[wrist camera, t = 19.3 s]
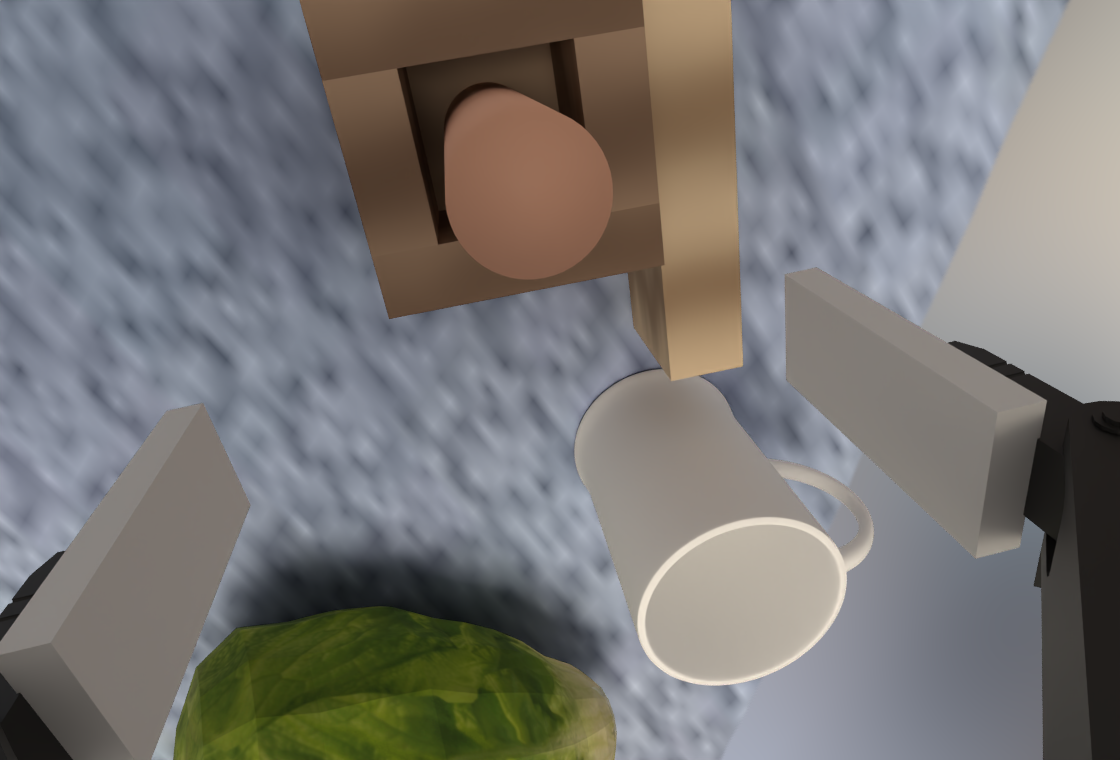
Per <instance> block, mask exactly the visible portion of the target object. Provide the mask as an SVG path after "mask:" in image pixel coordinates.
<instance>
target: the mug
mask: <svg viewBox="0 0 1120 760" xmlns="http://www.w3.org/2000/svg"><path fill="white" fill-rule="evenodd" d="M574 456H575V463H576V468H577V471H578V474H579V476H580V478H581V480H582V482H583V484H584V485H585V487H586V488H587V489H588V491H589V492H590V495H591V498H592V501H593V503H594V506H595V509H596V512H597V515H598V518H599V521H600V524H601V527H602V530H603V533H604V536H605V539H606V542H607V545H608V548H609V551H610V554H611V557H612V560H613V563H614V566H615V569H616V572H617V575H618V578H619V581H620V584H621V587H622V590H623V593H624V596H625V599H626V602H627V605H628V608H629V611H630V614H631V617H632V620H633V623H634V626H635V629H636V632H637V635H638V637H639V640H640V643H641V645H642V647H643V649H644V651H645V653H646V654H647V656H648V657H649V658H650V660H651V661H652V662H653V663H654V664H655V665H656V666H657V667H658V668H660V669H661V670H662V671H664V672H665V673H667V674H669V675H671V676H673V677H675V678H677V679H680V680H683V681H686V682H690V683H694V684H701V685H730V684H737V683H742V682H746V681H750V680H754V679H757V678H760V677H763V676H766V675H768V674H770V673H773V672H775V671H777V670H779V669H781V668H783V667H785V666H787V665H788V664H790V663H792V662H793V661H795V660H796V659H798V658H799V657H800V656H802V655H803V654H804V653H806V652H807V651H808V650H809V649H810V648H812V647H813V646H814V645H815V644H816V643H817V642H818V641H819V640H820V639H821V638H822V636H823V635H824V634H825V633H826V632H827V630H828V629H829V628H830V626H831V625H832V623H833V622H834V620H835V618H836V617H837V615H838V612H839V611H840V608H841V606H842V603H843V600H844V597H845V592H846V584H847V576H846V575H847V574H846V572H847V571H849V570H851V569H852V568H854V567H855V566H857V565H858V564H859V563H860V562H861V561H862V560H863V559H864V558H865V557H866V555H867V554H868V552H869V551H870V548H871V546H872V542H873V537H874V528H873V522H872V518H871V515H870V513H869V511H868V509H867V508H866V506H865V505H864V503H863V502H862V501H861V499H860V498H859V497H858V496H857V495H856V494H855V493H854V492H853V491H852V490H850V489H849V488H848V487H847V486H845V485H844V484H842V483H841V482H839V481H838V480H836V479H834V478H832V477H831V476H829V475H827V474H824V473H822V472H820V471H818V470H815V469H812V468H810V467H807V466H804V465H800V464H796V463H792V462H788V461H783V460H776V459H767V458H766V456H765V455H764V454H763V453H762V451H761V450H760V449H759V448H758V446H757V445H756V444H755V443H754V441H753V440H752V439H751V438H750V436H749V435H748V434H747V433H746V431H745V430H744V429H743V428H742V426H741V425H740V424H739V423H738V421H737V420H736V419H735V417H734V416H733V414H732V411H731V408H730V406H729V404H728V402H727V401H726V399H725V397H724V396H723V395H722V393H721V392H720V391H719V390H718V389H717V388H716V387H715V386H714V385H712V384H711V383H710V382H708V381H707V380H705V379H704V378H702V377H700V376H694V377H689V378H684V379H679V380H675V381H671V380H670V379H669V377H668V376H667V375H666V373H665V372H664V370H663V369H656V370H650V371H645V372H641V373H637V374H635V375H632V376H629V377H627V378H625V379H623V380H621V381H619V382H617V383H616V384H614V385H613V386H611V387H610V388H608V389H607V390H606V391H605V392H603V393H602V394H601V395H600V396H599V397H598V398H597V399H596V400H595V401H594V402H593V404H592V405H591V406H590V407H589V409H588V410H587V412H586V413H585V415H584V417H583V419H582V421H581V423H580V425H579V428H578V431H577V434H576V439H575V446H574ZM783 478H786V479H791V480H795V481H799V482H803V483H806V484H809V485H812V486H814V487H817V488H819V489H821V490H823V491H825V492H827V493H829V494H831V495H832V496H834V497H835V498H837V499H838V500H840V501H841V502H842V503H843V504H844V505H846V506H847V507H848V508H849V509H850V510H851V512H852V513H853V514H854V516H855V518H856V520H857V522H858V525H859V530H858V533H857V535H856V536H855V538H854V539H853V540H852V541H850V542H849V543H847V544H846V545H844V546H842V547H839V548H837V546H836V545H835V543H834V542H833V541H832V539H831V538H830V537H829V535H828V534H827V533H826V532H825V530H824V529H823V528H822V527H821V525H820V524H819V523H818V522H817V520H816V519H815V518H814V517H813V515H812V514H811V513H810V512H809V510H808V509H807V508H806V507H805V505H804V504H803V503H802V502H801V500H800V499H799V498H798V497H797V495H796V494H795V493H794V492H793V490H792V489H791V488H790V487H789V485H788V484H787V483H786V482H785V480H784V479H783Z"/></svg>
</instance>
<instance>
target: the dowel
mask: <svg viewBox="0 0 1120 760" xmlns="http://www.w3.org/2000/svg"><path fill="white" fill-rule="evenodd" d="M444 166H445V204H446V210H447V215H448V218H449V222H450V225H451V227H452V230H453V232H454V234H455V236H456V237H457V239H458V241H459V242H460V244H461V245H462V247H463V248H464V249H465V250H466V252H467V253H468V254H469V255H470V256H471V257H472V258H473V259H474V260H476V261H477V262H478V263H480V264H481V265H482V266H484V267H485V268H487V269H489V270H491V271H493V272H495V273H497V274H500V275H502V276H506V277H510V278H515V279H523V280H534V279H541V278H546V277H550V276H554V275H557V274H559V273H562V272H564V271H566V270H568V269H569V268H571V267H573V266H574V265H576V264H577V263H579V262H580V261H581V260H582V259H583V258H585V257H586V256H587V255H588V254H589V253H590V252H591V250H592V249H593V248H594V247H595V246H596V244H597V243H598V241H599V240H600V238H601V236H602V235H603V232H604V230H605V228H606V226H607V223H608V220H609V217H610V214H611V209H612V202H613V183H612V177H611V172H610V168H609V165H608V162H607V160H606V157H605V155H604V153H603V151H602V149H601V148H600V146H599V145H598V143H597V141H596V140H595V139H594V138H593V137H592V136H591V134H590V133H589V132H588V131H587V130H586V129H584V128H583V127H582V126H581V125H580V124H578V123H577V122H575V121H574V120H573V119H571V118H569V117H567V116H565V115H563V114H561V113H559V112H557V111H555V110H553V109H551V108H549V107H547V106H545V105H543V104H541V103H539V102H537V101H535V100H533V99H531V98H529V97H527V96H525V95H523V94H521V93H519V92H517V91H515V90H513V89H511V88H509V87H507V86H505V85H502V84H499V83H494V82H483V83H478V84H474V85H472V86H469V87H467V88H466V89H464V90H463V91H461V92H460V93H459V94H458V95H457V96H456V97H455V98H454V100H453V101H452V102H451V104H450V106H449V108H448V110H447V113H446V116H445V120H444Z"/></svg>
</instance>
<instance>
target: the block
mask: <svg viewBox="0 0 1120 760" xmlns="http://www.w3.org/2000/svg"><path fill="white" fill-rule="evenodd" d="M300 4H301V8H302V11H303V15H304V18H305V22H306V25H307V29H308V32H309V36H310V39H311V43H312V47H313V50H314V54H315V57H316V61H317V64H318V68H319V71H320V75H321V78H322V82H323V86H324V89H325V93H326V96H327V100H328V103H329V107H330V110H331V114H332V118H333V121H334V125H335V128H336V132H337V135H338V139H339V142H340V146H341V149H342V153H343V157H344V160H345V164H346V167H347V171H348V174H349V178H350V181H351V185H352V189H353V192H354V196H355V199H356V203H357V206H358V210H359V213H360V217H361V220H362V224H363V228H364V231H365V235H366V238H367V242H368V245H369V249H370V252H371V256H372V259H373V263H374V267H375V270H376V274H377V277H378V281H379V284H380V288H381V291H382V295H383V299H384V302H385V306H386V309H387V313H388V316H389V319H392V318H397V317H402V316H407V315H412V314H417V313H422V312H428V311H433V310H438V309H443V308H448V307H453V306H458V305H463V304H468V303H474V302H479V301H484V300H489V299H494V298H499V297H504V296H509V295H514V294H520V293H525V292H530V291H535V290H540V289H545V288H550V287H555V286H560V285H566V284H571V283H576V282H581V281H586V280H591V279H596V278H601V277H606V276H612V275H617V274H622V273H627V272H632V271H637V270H642V269H647V268H652V267H658V266H663V265H665V263H664V251H663V239H662V227H661V215H660V204H659V192H658V180H657V168H656V156H655V144H654V132H653V120H652V109H651V97H650V85H649V73H648V61H647V49H646V37H645V25H644V14H643V2H642V0H300ZM483 82H494V83H499V84H502V85H505V86H507V87H509V88H511V89H513V90H515V91H517V92H519V93H521V94H523V95H525V96H527V97H529V98H531V99H533V100H535V101H537V102H539V103H541V104H543V105H545V106H547V107H549V108H551V109H553V110H555V111H557V112H559V113H561V114H563V115H565V116H567V117H569V118H571V119H573V120H574V121H575V122H577V123H578V124H580V125H581V126H582V127H583V128H584V129H586V130H587V131H588V132H589V133H590V134H591V136H592V137H593V138H594V139H595V140H596V141H597V143H598V145H599V146H600V148H601V149H602V151H603V153H604V155H605V157H606V160H607V162H608V165H609V168H610V172H611V177H612V183H613V202H612V209H611V214H610V217H609V220H608V223H607V226H606V228H605V230H604V232H603V235H602V236H601V238H600V240H599V241H598V243H597V244H596V246H595V247H594V248H593V249H592V250H591V252H590V253H589V254H588V255H587V256H586V257H585V258H583V259H582V260H581V261H580V262H579V263H577V264H576V265H574V266H573V267H571V268H569V269H568V270H566V271H564V272H562V273H559V274H557V275H554V276H550V277H546V278H541V279H534V280H523V279H515V278H510V277H506V276H502V275H500V274H497V273H495V272H493V271H491V270H489V269H487V268H485V267H484V266H482V265H481V264H480V263H478V262H477V261H476V260H474V259H473V258H472V257H471V256H470V255H469V254H468V253H467V252H466V250H465V249H464V248H463V247H462V245H461V244H460V242H459V241H458V239H457V237H456V236H455V234H454V232H453V230H452V227H451V225H450V222H449V218H448V215H447V210H446V204H445V166H444V120H445V116H446V113H447V110H448V108H449V106H450V104H451V102H452V101H453V100H454V98H455V97H456V96H457V95H458V94H459V93H460V92H461V91H463V90H464V89H466V88H467V87H469V86H472V85H474V84H478V83H483Z"/></svg>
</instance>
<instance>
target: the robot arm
mask: <svg viewBox="0 0 1120 760" xmlns="http://www.w3.org/2000/svg"><path fill="white" fill-rule="evenodd" d="M785 328H786V380H787V381H788V382H789V383H790V384H791V385H792V386H793V387H794V388H795V389H796V390H797V391H798V392H800V393H801V394H802V395H803V396H804V397H805V398H806V399H807V400H808V401H809V402H810V403H811V404H812V405H813V406H814V407H815V408H816V409H818V410H819V411H820V412H821V413H822V414H823V415H824V416H825V417H826V418H827V419H828V420H829V421H830V422H831V423H832V424H833V425H834V426H836V427H837V428H838V429H839V430H840V431H841V432H842V433H843V434H844V435H845V436H846V437H847V438H848V439H849V440H850V441H851V442H852V443H854V444H855V445H856V446H857V447H858V448H859V449H860V450H861V451H862V452H863V453H864V454H865V455H866V456H867V457H868V458H869V459H871V460H872V461H873V462H874V463H875V464H876V465H877V466H878V467H879V468H880V469H881V470H882V471H883V472H884V473H885V474H886V475H888V476H889V477H890V478H891V479H892V480H893V481H894V482H895V483H896V484H897V485H898V486H899V487H900V488H901V489H902V490H903V491H904V492H905V493H907V494H908V495H909V496H910V497H911V498H912V499H913V500H914V501H915V502H916V503H917V504H918V505H919V506H920V507H921V508H922V509H924V510H925V511H926V512H927V513H928V514H929V515H930V516H931V517H932V518H933V519H934V520H935V521H936V522H937V523H938V524H940V526H942V527H943V528H944V529H945V530H946V531H947V532H948V533H949V534H950V535H951V536H952V537H953V538H954V539H955V540H956V541H957V542H959V543H960V544H961V545H962V546H963V547H964V548H965V549H966V550H967V551H968V552H969V553H970V554H971V555H972V556H973V557H974V558H980V557H984V556H988V555H991V554H995V553H999V552H1003V551H1007V550H1011V549H1015V548H1018V547H1020V542H1021V536H1022V531H1023V525H1024V520H1025V517H1027V518H1028V519H1029V520H1030V521H1032V522H1033V523H1034V524H1035V525H1037V526H1038V527H1039V528H1041V529H1042V530H1043V531H1044V532H1045V533H1044V539H1043V543H1042V548H1041V553H1040V557H1039V562H1038V567H1037V572H1036V577H1035V581H1034V586H1036V587H1040V588H1041V601H1042V689H1043V690H1042V697H1043V700H1042V701H1043V760H1120V402H1117V401H1116V402H1115V401H1098V402H1091V403H1085V404H1083V403H1081V402H1079V401H1077V400H1076V399H1074V398H1072V397H1070V396H1068V395H1067V394H1065V393H1063V392H1061V391H1059V390H1057V389H1056V388H1054V387H1052V386H1050V385H1048V384H1047V383H1045V382H1043V381H1041V380H1039V379H1037V378H1036V377H1034V376H1032V375H1030V374H1026V375H1025V373H1024V371H1023V370H1021V369H1019V368H1017V367H1015V366H1014V365H1012V364H1007V363H1006V361H1005V360H1003V359H1001V358H999V357H997V356H996V355H994V354H992V353H990V352H988V351H986V350H985V349H982V348H978V347H974V346H971V345H968V344H964V343H960V342H957V341H953V342H949V343H946V342H945V341H943V340H941V339H940V338H938V337H936V336H934V335H932V334H931V333H929V332H927V331H926V330H924V329H922V328H921V327H919V326H917V325H915V324H914V323H912V322H910V321H908V320H907V319H905V318H903V317H901V316H900V315H898V314H896V313H895V312H893V311H891V310H889V309H888V308H886V307H884V306H882V305H881V304H879V303H877V302H876V301H874V300H872V299H870V298H869V297H867V296H865V295H863V294H862V293H860V292H858V291H857V290H855V289H853V288H851V287H850V286H848V285H846V284H844V283H843V282H841V281H839V280H837V279H836V278H834V277H832V276H831V275H829V274H827V273H825V272H824V271H822V270H820V269H818V268H817V267H816V268H811V269H807V270H802V271H798V272H793V273H789V274H785ZM249 508H250V503H249V501H248V498H247V496H246V494H245V492H244V490H243V488H242V486H241V483H240V481H239V479H238V477H237V475H236V473H235V471H234V469H233V466H232V464H231V462H230V460H229V458H228V456H227V454H226V451H225V449H224V447H223V445H222V443H221V441H220V439H219V436H218V434H217V432H216V430H215V428H214V426H213V424H212V421H211V419H210V417H209V415H208V413H207V411H206V409H205V407H204V404H203V403H200V404H196V405H191V406H187V407H182V408H178V409H173V410H169V411H166V412H165V414H164V415H163V416H162V418H161V419H160V421H159V422H158V423H157V425H156V426H155V428H154V429H153V430H152V432H151V433H150V435H149V436H148V437H147V439H146V440H145V441H144V443H143V444H142V446H141V447H140V448H139V450H138V451H137V453H136V454H135V455H134V457H133V458H132V459H131V461H130V462H129V464H128V465H127V466H126V468H125V469H124V471H123V472H122V473H121V475H120V476H119V478H118V479H117V480H116V482H115V483H114V484H113V486H112V487H111V489H110V490H109V491H108V493H107V494H106V496H105V497H104V498H103V500H102V501H101V503H100V504H99V505H98V507H97V508H96V509H95V511H94V512H93V514H92V515H91V516H90V518H89V519H88V521H87V522H86V523H85V525H84V526H83V527H82V529H81V530H80V532H79V533H78V534H77V536H76V537H75V539H74V540H73V541H72V543H71V544H70V546H69V547H68V548H67V550H66V551H62V552H57V553H56V554H55V555H54V556H53V557H51V558H50V559H49V560H48V561H47V562H45V563H44V564H43V565H42V566H41V567H40V568H38V569H37V570H36V571H35V572H34V573H32V574H31V575H30V576H29V577H28V579H27V580H26V581H25V583H24V584H23V585H22V587H21V588H20V589H19V591H18V592H17V593H16V595H15V596H14V597H13V599H12V600H13V603H10V604H8V605H7V607H6V608H5V609H4V611H3V612H2V613H1V615H0V760H151V758H152V755H153V753H154V750H155V748H156V745H157V743H158V740H159V738H160V735H161V732H162V730H163V727H164V725H165V722H166V720H167V717H168V715H169V712H170V709H171V707H172V704H173V702H174V699H175V697H176V694H177V692H178V689H179V686H180V684H181V681H182V679H183V676H184V674H185V671H186V669H187V666H188V663H189V661H190V658H191V656H192V653H193V651H194V648H195V646H196V643H197V640H198V638H199V635H200V633H201V630H202V628H203V625H204V623H205V620H206V617H207V615H208V612H209V610H210V607H211V605H212V602H213V600H214V597H215V594H216V592H217V589H218V587H219V584H220V582H221V579H222V577H223V574H224V571H225V569H226V566H227V564H228V561H229V559H230V556H231V554H232V551H233V548H234V546H235V543H236V541H237V538H238V536H239V533H240V531H241V528H242V525H243V523H244V520H245V518H246V515H247V513H248V510H249Z"/></svg>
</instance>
